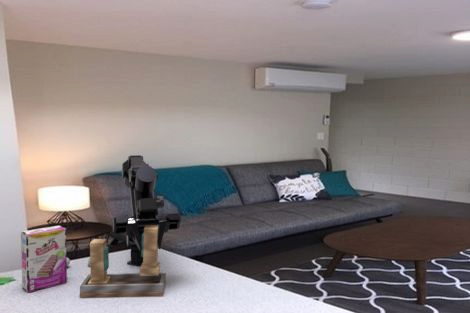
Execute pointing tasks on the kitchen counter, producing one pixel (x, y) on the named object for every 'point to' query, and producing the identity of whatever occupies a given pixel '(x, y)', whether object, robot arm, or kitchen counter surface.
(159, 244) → the robot arm
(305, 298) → the kitchen counter surface
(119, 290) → the weathered wooden tray
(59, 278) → the candy bar box
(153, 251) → the oak finger
